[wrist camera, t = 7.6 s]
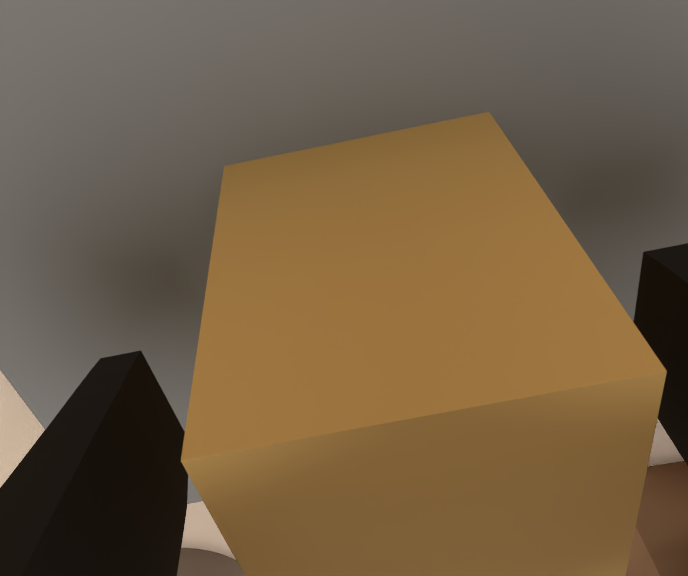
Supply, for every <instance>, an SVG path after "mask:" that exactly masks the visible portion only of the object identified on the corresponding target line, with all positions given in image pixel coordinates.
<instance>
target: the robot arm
mask: <svg viewBox="0 0 688 576" xmlns="http://www.w3.org/2000/svg"><path fill="white" fill-rule="evenodd" d="M633 323H634V324H635V325H636V327H637V328H638V330H639V331H640V333H641V334H642V336H643V337H644V339H645V340H646V341H647V343H648V344H649V346H650V347H651V349H652V350H653V352H654V353H655V355H656V356H657V358H658V359H659V360H660V362H661V363H662V365H663V366H664V368H665V369H666V371H667V373H666V378H665V383H664V388H663V393H662V398H661V403H660V408H659V413H658V419H659V421H660V423H661V424H662V426H663V427H664V429H665V431H666V432H667V434H668V435H669V437H670V439H671V440H672V442H673V443H674V445H675V446H676V448H677V450H678V451H679V453H680V454H681V456H682V457H683V459H684V461H685V462H686V464H687V465H688V243H686V244H681V245H676V246H671V247H666V248H660V249H655V250H650V251H645V252H643V257H642V264H641V272H640V279H639V286H638V293H637V300H636V307H635V315H634V322H633ZM184 435H185V431H184V430H183V428H182V426H181V424H180V422H179V420H178V418H177V417H176V415H175V413H174V411H173V409H172V407H171V405H170V404H169V402H168V400H167V398H166V396H165V394H164V392H163V390H162V389H161V387H160V385H159V383H158V381H157V379H156V377H155V376H154V374H153V372H152V370H151V368H150V366H149V364H148V362H147V361H146V359H145V357H144V355H143V353H142V351H141V350H140V351H135V352H130V353H125V354H120V355H115V356H110V357H105V358H100V359H99V361H98V362H97V363H96V364H95V366H94V367H93V368H92V369H91V370H90V372H89V373H88V374H87V376H86V377H85V378H84V379H83V381H82V382H81V383H80V385H79V386H78V387H77V389H76V390H75V391H74V393H73V394H72V395H71V396H70V398H69V399H68V400H67V402H66V403H65V404H64V406H63V407H62V408H61V410H60V411H59V412H58V414H57V415H56V416H55V418H54V419H53V420H52V422H51V423H50V424H49V426H48V427H47V428H46V430H45V431H44V432H43V434H42V435H41V436H40V438H39V439H38V440H37V441H36V443H35V444H34V445H33V447H32V448H31V449H30V450H29V452H28V453H27V454H26V456H25V457H24V458H23V460H22V461H21V462H20V463H19V465H18V466H17V467H16V469H15V470H14V471H13V472H12V474H11V475H10V476H9V478H8V479H7V480H6V482H5V483H4V484H3V485H2V487H1V488H0V576H177V571H178V564H179V558H180V551H181V544H182V538H183V531H184V524H185V517H186V509H187V497H188V473H187V471H186V470H185V468H184V466H183V464H182V462H181V455H182V448H183V442H184Z"/></svg>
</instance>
